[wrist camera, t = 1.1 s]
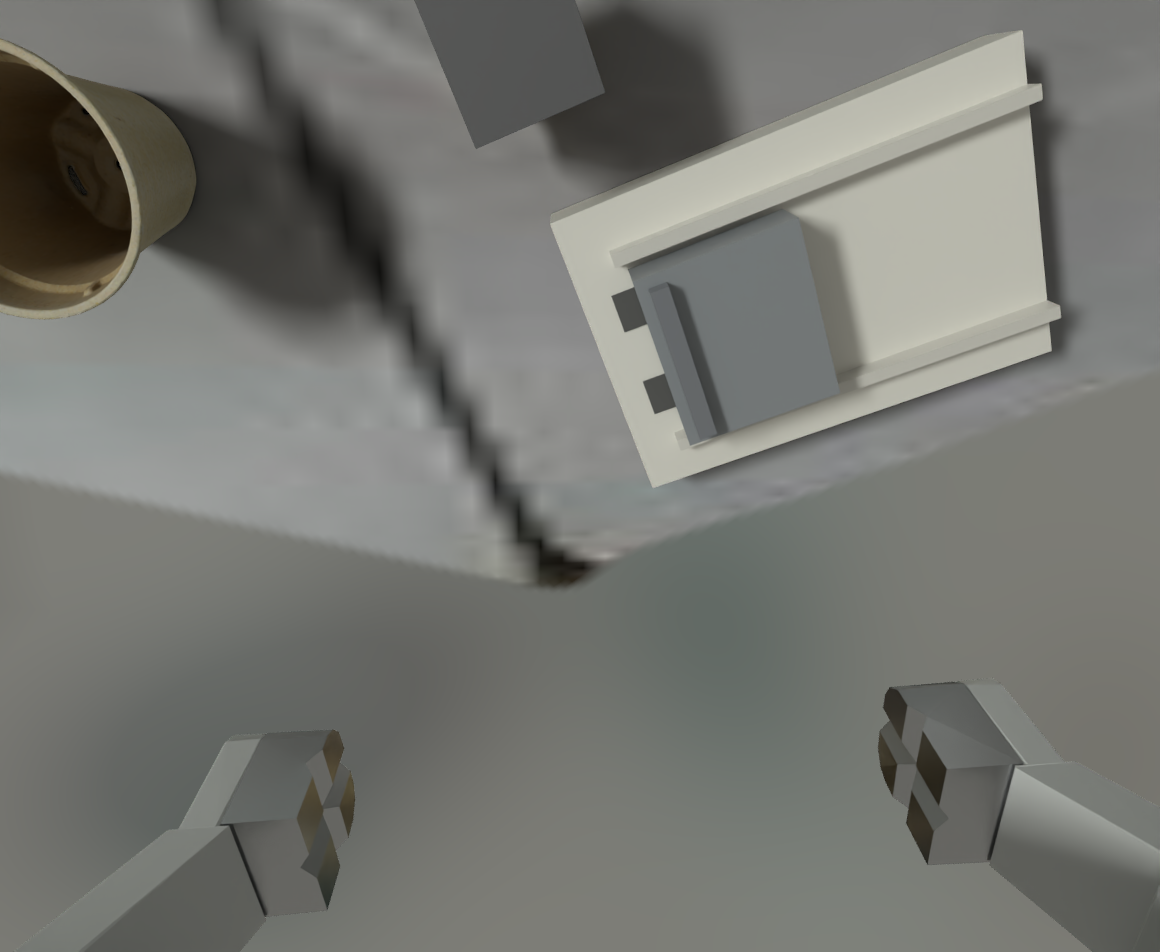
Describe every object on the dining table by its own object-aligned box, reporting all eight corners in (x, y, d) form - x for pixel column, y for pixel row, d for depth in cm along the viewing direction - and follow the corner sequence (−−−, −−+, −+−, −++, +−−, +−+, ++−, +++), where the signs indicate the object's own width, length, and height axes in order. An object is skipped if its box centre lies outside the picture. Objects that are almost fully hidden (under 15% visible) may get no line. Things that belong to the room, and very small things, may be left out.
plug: (554, -35, 30) (551, -71, 24) (597, 93, 32) (605, 92, 26) (444, 16, 31) (412, -5, 24) (493, 138, 33) (475, 148, 27)
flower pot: (279, 180, 34) (195, 206, 26) (153, 310, 36) (43, 368, 29) (100, -9, 30) (-58, -45, 23) (-24, 149, 33) (-204, 166, 25)
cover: (782, 208, 31) (804, 220, 29) (822, 374, 35) (846, 399, 32) (628, 269, 33) (634, 286, 30) (682, 424, 36) (692, 453, 33)
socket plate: (983, 35, 31) (1036, 28, 28) (1017, 332, 38) (1064, 357, 34) (551, 214, 35) (549, 227, 31) (646, 462, 41) (654, 497, 37)
